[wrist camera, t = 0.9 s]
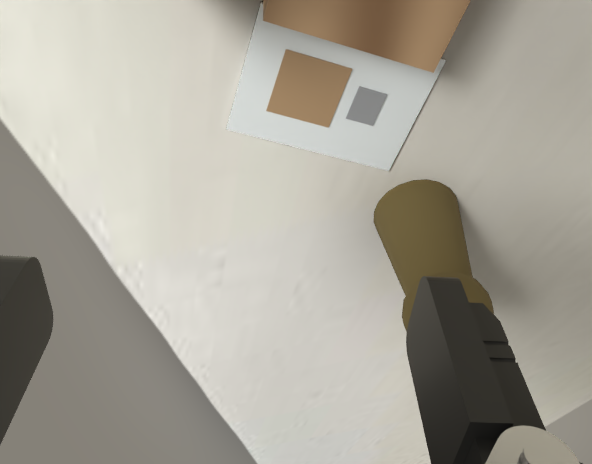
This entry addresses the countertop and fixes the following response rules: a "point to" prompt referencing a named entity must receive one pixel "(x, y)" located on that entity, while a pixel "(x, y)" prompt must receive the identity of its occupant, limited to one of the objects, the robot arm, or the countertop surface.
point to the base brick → (375, 25)
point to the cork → (425, 239)
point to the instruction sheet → (327, 96)
